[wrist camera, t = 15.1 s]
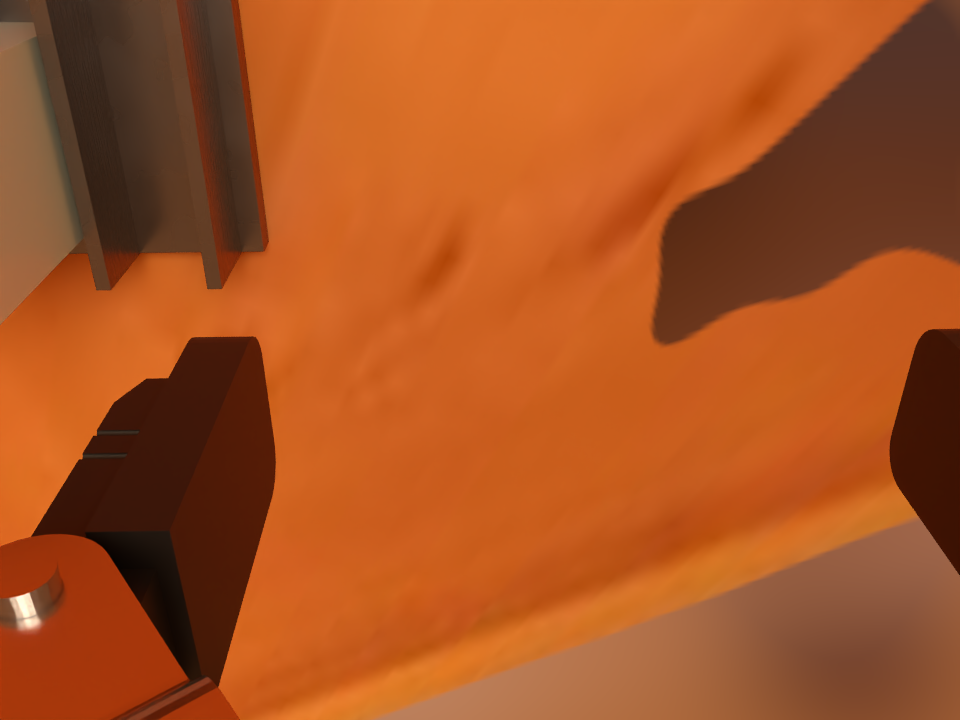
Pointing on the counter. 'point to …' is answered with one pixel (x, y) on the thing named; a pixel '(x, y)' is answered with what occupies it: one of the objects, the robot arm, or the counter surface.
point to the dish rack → (153, 128)
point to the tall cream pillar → (30, 172)
